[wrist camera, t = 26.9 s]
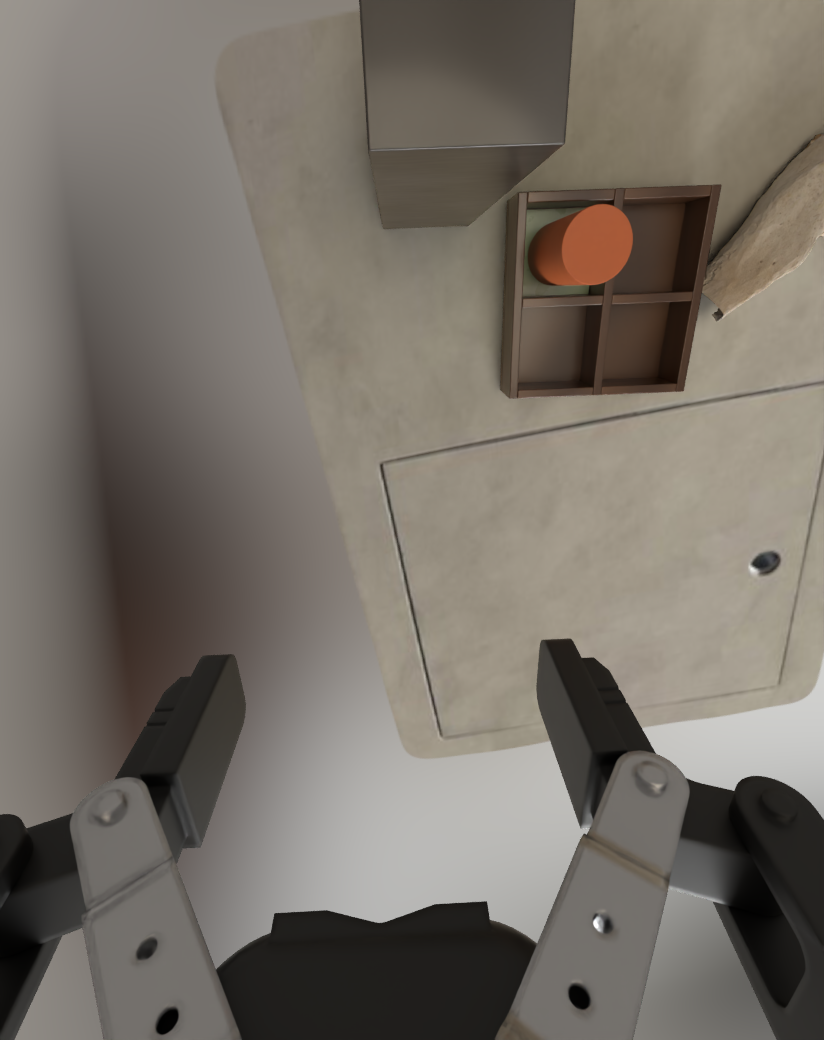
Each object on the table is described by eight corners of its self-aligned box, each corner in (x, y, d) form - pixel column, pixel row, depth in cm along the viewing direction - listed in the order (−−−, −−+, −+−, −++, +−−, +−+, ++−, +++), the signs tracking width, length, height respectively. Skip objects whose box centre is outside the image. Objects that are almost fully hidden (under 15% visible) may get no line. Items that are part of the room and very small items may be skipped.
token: (525, 286, 36) (558, 286, 29) (529, 222, 35) (564, 205, 27) (581, 284, 36) (627, 283, 29) (587, 220, 35) (638, 202, 28)
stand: (383, 229, 35) (368, 151, 15) (377, 122, 33) (351, -137, 13) (468, 225, 35) (565, 144, 15) (469, 119, 33) (586, -143, 13)
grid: (500, 389, 40) (509, 399, 37) (506, 200, 35) (518, 192, 32) (660, 383, 40) (683, 391, 37) (691, 194, 35) (721, 184, 32)
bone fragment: (843, 105, 33) (909, 80, 29) (877, 192, 35) (942, 180, 31) (661, 258, 37) (696, 255, 32) (702, 328, 39) (739, 334, 35)
